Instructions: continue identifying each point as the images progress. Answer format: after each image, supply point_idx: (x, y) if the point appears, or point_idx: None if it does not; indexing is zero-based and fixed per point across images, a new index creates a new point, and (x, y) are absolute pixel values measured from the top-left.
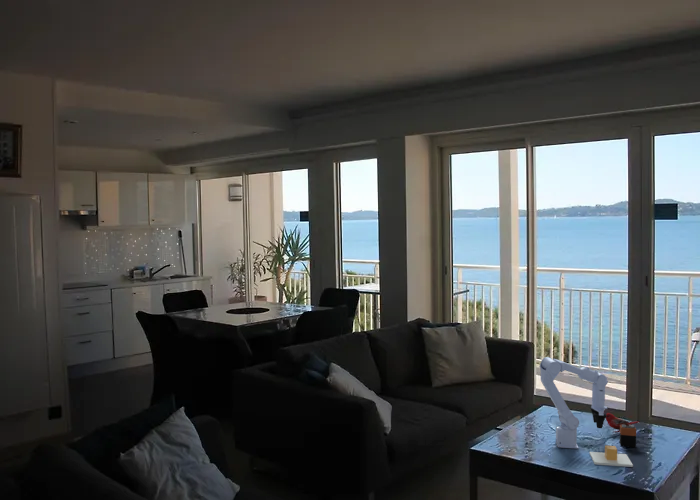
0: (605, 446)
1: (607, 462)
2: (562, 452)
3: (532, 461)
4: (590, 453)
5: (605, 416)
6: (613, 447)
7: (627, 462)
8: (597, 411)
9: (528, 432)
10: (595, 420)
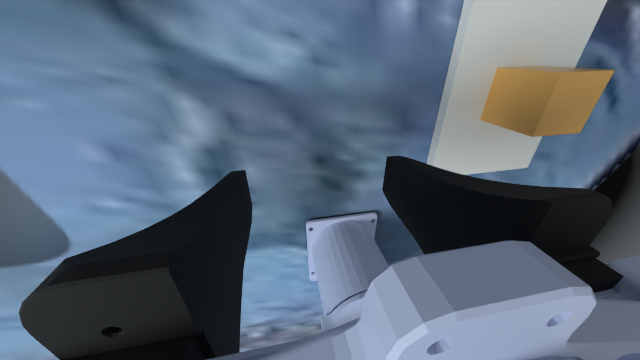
0: (545, 135)
1: None
2: (407, 253)
3: None
4: None
5: (594, 207)
6: (579, 89)
7: (580, 8)
8: (219, 282)
9: (242, 342)
10: (247, 208)
